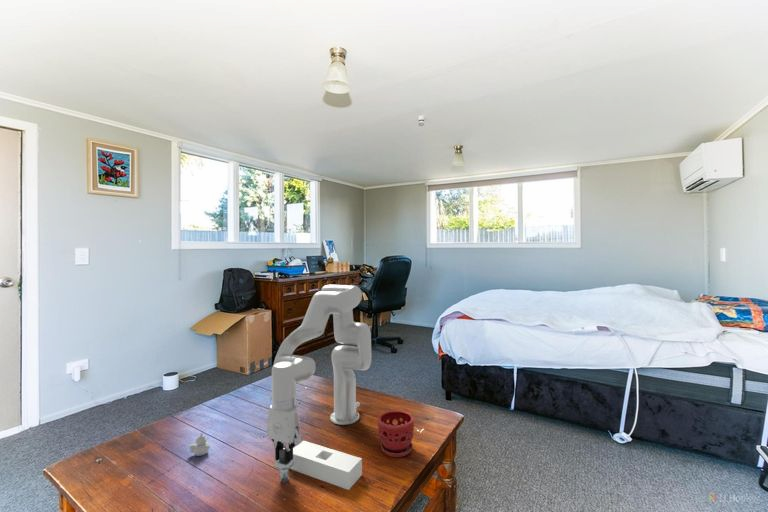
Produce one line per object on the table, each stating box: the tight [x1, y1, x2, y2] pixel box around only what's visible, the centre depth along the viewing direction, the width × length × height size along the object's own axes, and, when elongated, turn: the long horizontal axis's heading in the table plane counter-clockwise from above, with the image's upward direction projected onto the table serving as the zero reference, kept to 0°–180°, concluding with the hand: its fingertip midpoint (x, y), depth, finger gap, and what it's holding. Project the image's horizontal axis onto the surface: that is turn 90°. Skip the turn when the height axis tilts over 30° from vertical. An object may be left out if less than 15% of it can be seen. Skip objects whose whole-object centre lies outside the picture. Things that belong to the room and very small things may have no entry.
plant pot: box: [377, 410, 415, 458], centre depth 126 cm, size 13×13×12 cm
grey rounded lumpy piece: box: [188, 432, 211, 457], centre depth 124 cm, size 5×7×8 cm
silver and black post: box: [273, 445, 294, 483], centre depth 110 cm, size 6×6×10 cm
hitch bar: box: [289, 440, 363, 491], centre depth 114 cm, size 8×24×5 cm, turn 63°
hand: (284, 459), depth 110 cm, fingers closed on silver and black post, 3 cm apart
